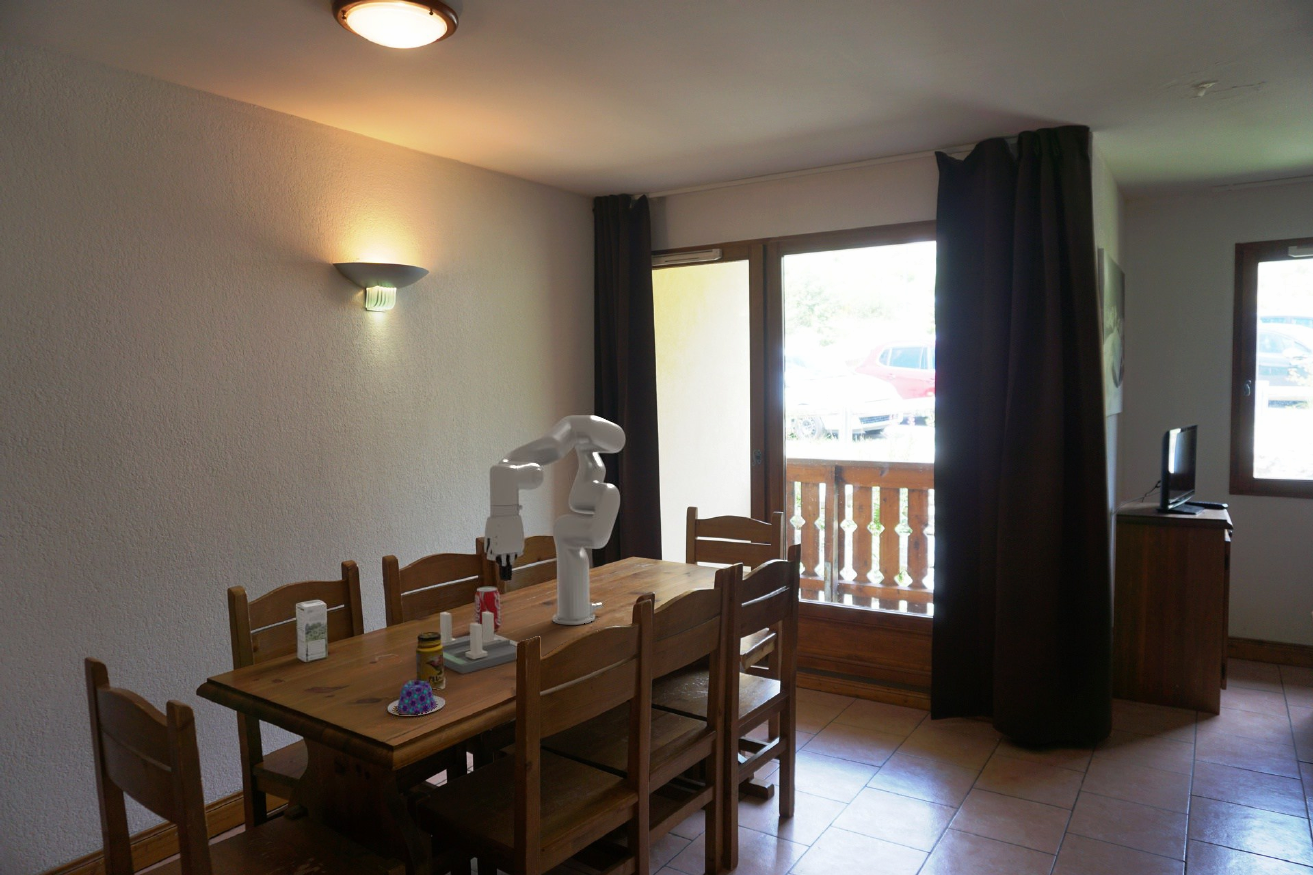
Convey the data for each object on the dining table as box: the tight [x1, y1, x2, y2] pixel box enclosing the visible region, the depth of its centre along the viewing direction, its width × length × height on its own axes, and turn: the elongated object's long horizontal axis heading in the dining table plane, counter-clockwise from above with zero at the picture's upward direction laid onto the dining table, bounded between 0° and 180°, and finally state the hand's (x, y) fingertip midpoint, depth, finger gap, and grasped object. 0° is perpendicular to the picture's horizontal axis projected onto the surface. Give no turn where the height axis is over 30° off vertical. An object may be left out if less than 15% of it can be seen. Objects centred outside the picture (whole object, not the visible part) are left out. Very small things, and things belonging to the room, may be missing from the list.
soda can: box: [474, 586, 501, 632], centre depth 240 cm, size 7×7×12 cm
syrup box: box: [295, 599, 328, 663], centre depth 216 cm, size 6×6×14 cm
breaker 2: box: [466, 622, 487, 659], centre depth 208 cm, size 4×4×8 cm
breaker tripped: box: [482, 611, 499, 645], centre depth 219 cm, size 4×4×8 cm
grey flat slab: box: [442, 632, 519, 675], centre depth 217 cm, size 20×22×3 cm
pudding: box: [387, 681, 446, 717], centre depth 181 cm, size 12×12×5 cm
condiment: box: [407, 631, 447, 690], centre depth 194 cm, size 7×8×12 cm
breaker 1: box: [439, 611, 457, 645], centre depth 219 cm, size 4×4×8 cm
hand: (505, 579), depth 223 cm, fingers closed
